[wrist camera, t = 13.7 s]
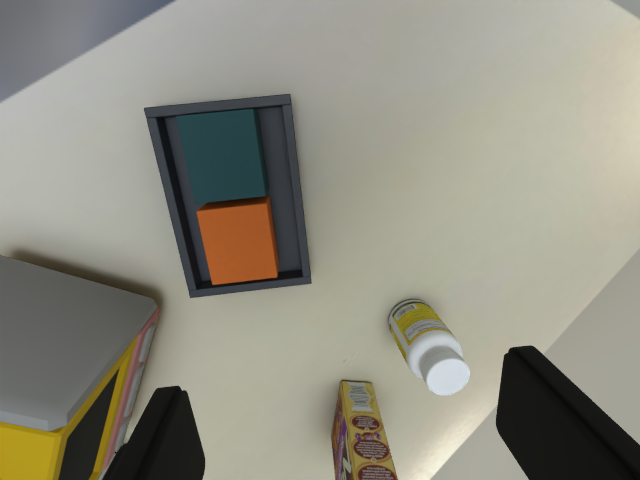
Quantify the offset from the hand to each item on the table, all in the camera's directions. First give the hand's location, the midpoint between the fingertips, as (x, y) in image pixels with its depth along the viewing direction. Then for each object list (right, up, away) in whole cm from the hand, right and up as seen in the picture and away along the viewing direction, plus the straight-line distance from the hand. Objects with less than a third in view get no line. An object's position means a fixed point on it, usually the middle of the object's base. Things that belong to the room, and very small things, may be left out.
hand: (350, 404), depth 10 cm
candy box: (+3, -16, +32) cm, 37 cm away
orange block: (-8, +6, +24) cm, 26 cm away
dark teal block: (-9, +13, +21) cm, 26 cm away
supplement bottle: (+10, -4, +29) cm, 31 cm away
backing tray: (-9, +9, +23) cm, 26 cm away
